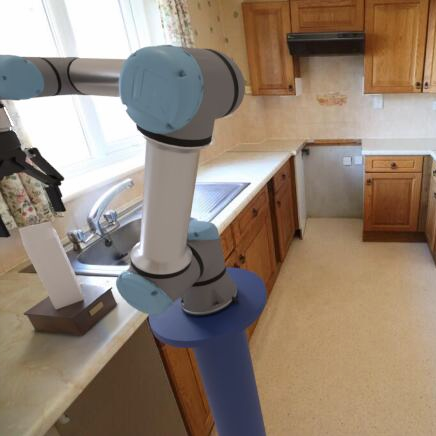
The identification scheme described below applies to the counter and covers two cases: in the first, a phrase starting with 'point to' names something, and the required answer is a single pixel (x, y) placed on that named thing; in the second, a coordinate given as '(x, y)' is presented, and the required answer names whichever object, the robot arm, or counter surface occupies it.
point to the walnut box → (73, 312)
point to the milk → (51, 264)
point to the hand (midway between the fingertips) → (34, 223)
